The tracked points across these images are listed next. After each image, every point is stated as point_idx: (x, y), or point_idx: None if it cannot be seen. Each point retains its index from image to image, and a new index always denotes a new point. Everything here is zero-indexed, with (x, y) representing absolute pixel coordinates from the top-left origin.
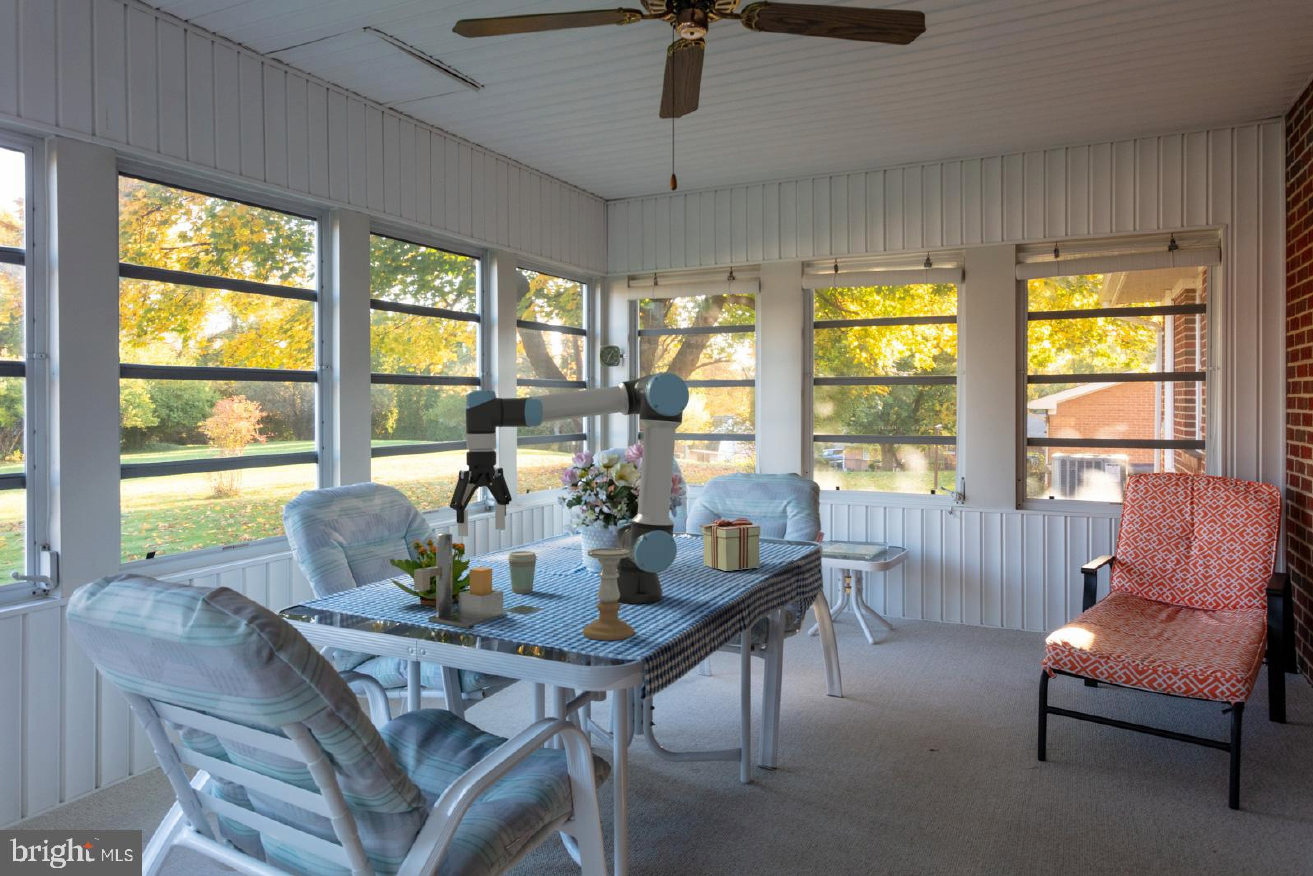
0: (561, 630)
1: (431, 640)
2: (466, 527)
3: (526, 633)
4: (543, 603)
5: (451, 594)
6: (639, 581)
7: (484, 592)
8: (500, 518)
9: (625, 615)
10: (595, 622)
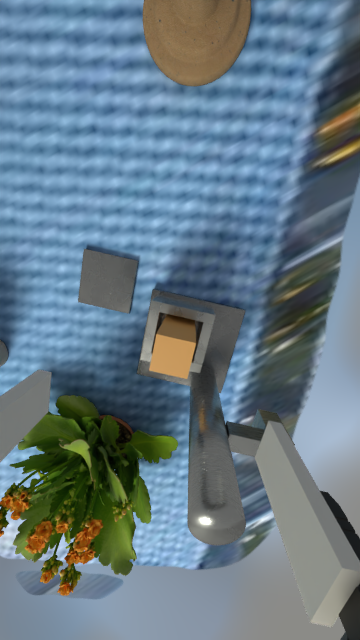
0: (201, 143)
1: (323, 326)
2: (295, 454)
3: (241, 199)
4: (36, 280)
5: (203, 383)
6: None
7: (186, 325)
8: (11, 420)
9: (42, 65)
10: (209, 29)
